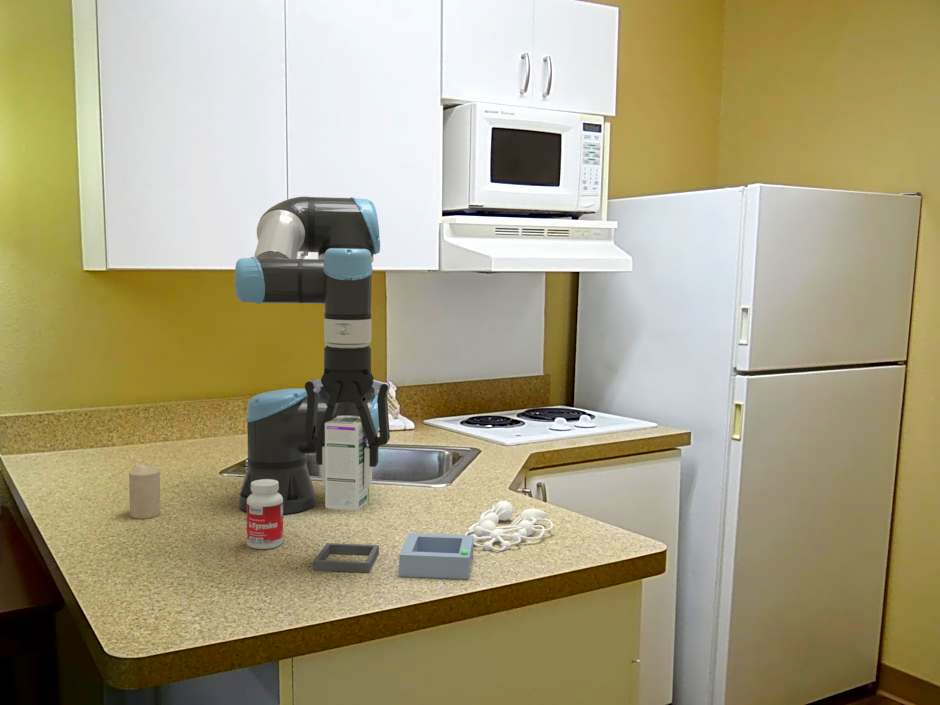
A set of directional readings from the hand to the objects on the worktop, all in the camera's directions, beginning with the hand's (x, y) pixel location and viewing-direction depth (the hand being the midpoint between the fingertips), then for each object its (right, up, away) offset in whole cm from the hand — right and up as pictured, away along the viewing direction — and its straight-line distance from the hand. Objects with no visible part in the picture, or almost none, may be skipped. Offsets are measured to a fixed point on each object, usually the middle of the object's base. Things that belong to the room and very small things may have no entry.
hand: (347, 484), depth 138 cm
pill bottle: (-16, -12, +9) cm, 22 cm away
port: (+15, -13, 0) cm, 20 cm away
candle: (-43, -10, +25) cm, 50 cm away
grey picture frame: (0, -13, +1) cm, 13 cm away
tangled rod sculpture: (+27, -12, +17) cm, 34 cm away
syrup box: (0, -4, 0) cm, 4 cm away
